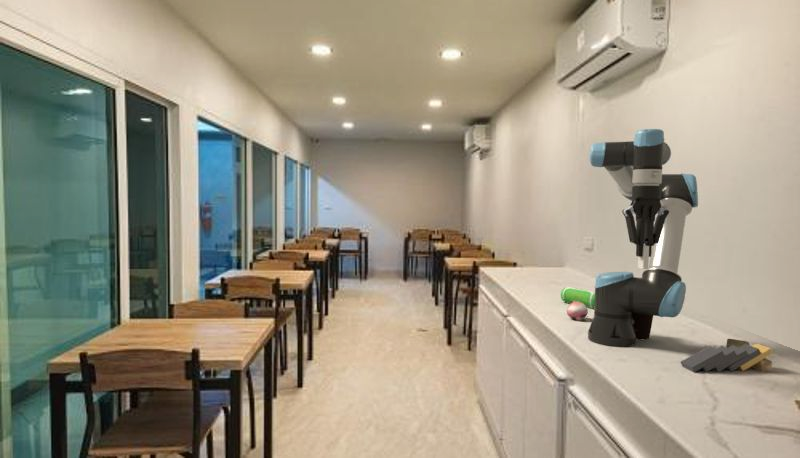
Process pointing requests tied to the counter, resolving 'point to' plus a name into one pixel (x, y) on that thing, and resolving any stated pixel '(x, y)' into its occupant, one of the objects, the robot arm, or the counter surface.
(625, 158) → the robot arm
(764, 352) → the domino
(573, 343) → the counter surface
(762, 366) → the block
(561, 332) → the counter surface
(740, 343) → the stone block
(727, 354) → the domino
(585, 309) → the onion
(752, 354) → the domino
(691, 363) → the domino
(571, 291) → the speaker
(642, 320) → the coffee mug
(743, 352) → the domino
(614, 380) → the counter surface
